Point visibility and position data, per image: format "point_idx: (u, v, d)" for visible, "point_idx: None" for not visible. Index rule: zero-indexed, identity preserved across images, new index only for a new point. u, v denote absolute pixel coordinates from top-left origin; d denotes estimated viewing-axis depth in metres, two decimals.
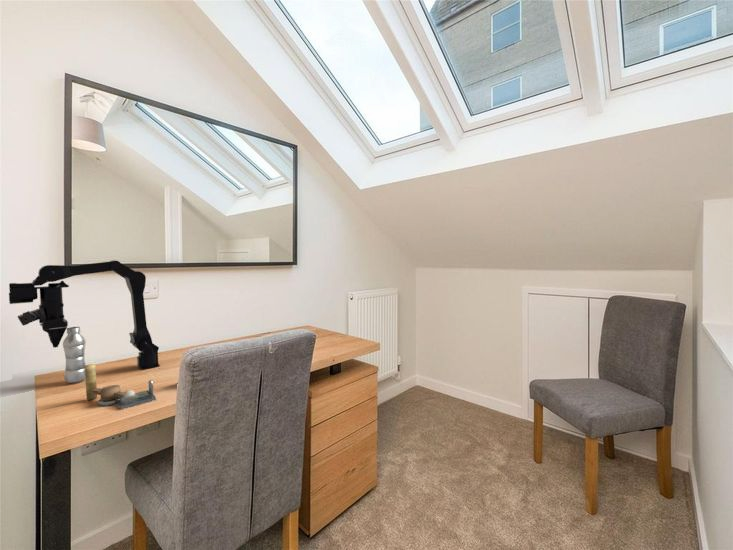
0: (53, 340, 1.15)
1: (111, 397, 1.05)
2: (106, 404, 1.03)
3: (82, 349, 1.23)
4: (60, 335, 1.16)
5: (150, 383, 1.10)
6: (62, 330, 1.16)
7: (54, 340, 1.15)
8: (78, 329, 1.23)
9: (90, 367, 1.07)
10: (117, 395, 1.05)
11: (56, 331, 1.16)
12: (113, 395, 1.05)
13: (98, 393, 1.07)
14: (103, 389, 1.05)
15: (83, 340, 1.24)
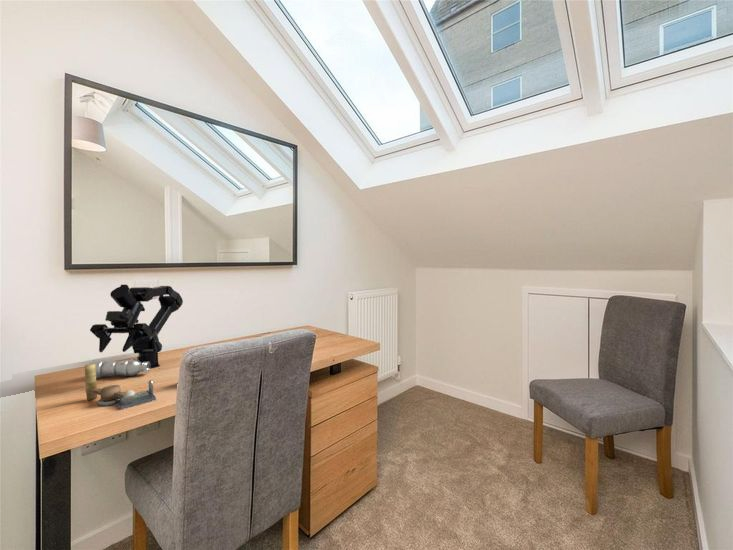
0: (128, 343, 1.20)
1: (111, 397, 1.05)
2: (106, 404, 1.03)
3: (121, 373, 1.27)
4: (133, 342, 1.23)
5: (150, 383, 1.10)
6: (137, 339, 1.24)
7: (128, 344, 1.21)
8: (144, 369, 1.29)
9: (90, 367, 1.07)
10: (117, 395, 1.05)
11: (133, 337, 1.23)
12: (113, 395, 1.05)
13: (98, 393, 1.07)
14: (103, 389, 1.05)
15: (131, 373, 1.28)
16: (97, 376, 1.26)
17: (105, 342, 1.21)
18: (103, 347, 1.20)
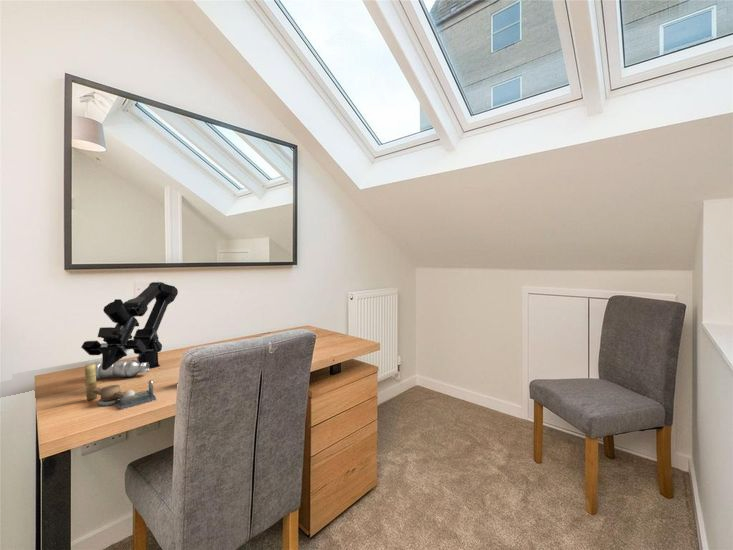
0: (109, 361, 1.16)
1: (111, 397, 1.05)
2: (106, 404, 1.03)
3: (121, 375, 1.27)
4: (116, 360, 1.18)
5: (150, 383, 1.10)
6: (120, 356, 1.20)
7: (110, 362, 1.16)
8: (143, 371, 1.29)
9: (90, 367, 1.07)
10: (117, 395, 1.05)
11: (115, 355, 1.18)
12: (113, 395, 1.05)
13: (98, 393, 1.07)
14: (103, 389, 1.05)
15: (130, 375, 1.27)
16: (97, 378, 1.26)
17: None
18: None
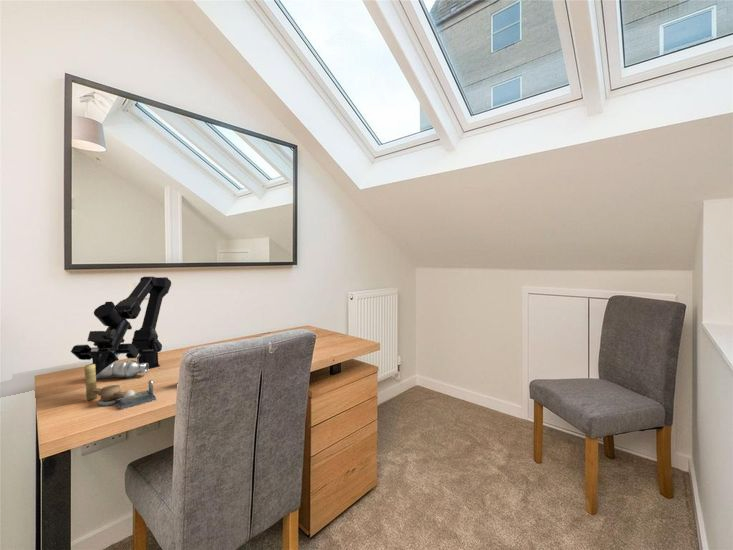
0: (100, 366, 1.11)
1: (111, 397, 1.05)
2: (106, 404, 1.03)
3: (120, 376, 1.27)
4: (106, 365, 1.14)
5: (150, 383, 1.10)
6: (111, 361, 1.15)
7: (100, 367, 1.11)
8: (143, 372, 1.29)
9: (90, 367, 1.07)
10: (117, 395, 1.05)
11: (106, 359, 1.14)
12: (113, 395, 1.05)
13: (98, 393, 1.07)
14: (103, 389, 1.05)
15: (130, 376, 1.27)
16: None
17: None
18: None
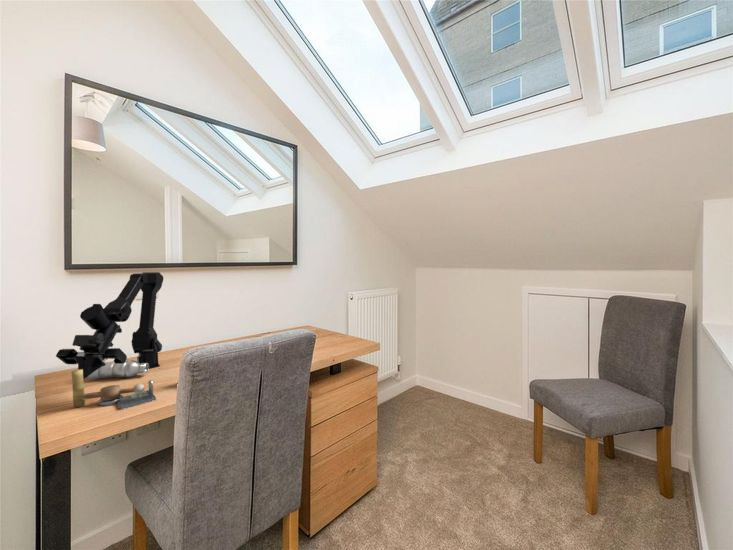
0: (85, 372, 1.06)
1: (117, 395, 1.06)
2: (106, 404, 1.03)
3: (120, 376, 1.27)
4: (92, 370, 1.08)
5: (150, 383, 1.10)
6: (98, 366, 1.10)
7: (86, 372, 1.06)
8: (143, 372, 1.29)
9: (80, 372, 1.03)
10: (124, 392, 1.07)
11: (92, 365, 1.08)
12: (118, 393, 1.06)
13: (94, 396, 1.04)
14: (105, 390, 1.05)
15: (130, 376, 1.27)
16: None
17: None
18: None
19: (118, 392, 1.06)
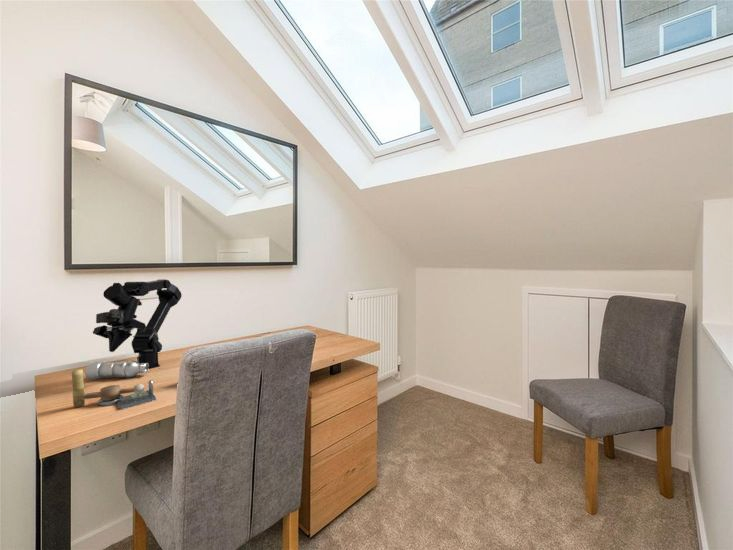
0: (114, 343, 1.20)
1: (117, 395, 1.06)
2: (106, 404, 1.03)
3: (120, 376, 1.27)
4: (122, 341, 1.22)
5: (150, 383, 1.10)
6: (126, 336, 1.23)
7: (115, 344, 1.20)
8: (143, 372, 1.29)
9: (80, 372, 1.03)
10: (124, 392, 1.07)
11: (120, 336, 1.22)
12: (118, 393, 1.06)
13: (94, 396, 1.04)
14: (105, 390, 1.05)
15: (130, 376, 1.27)
16: None
17: None
18: None
19: (118, 392, 1.06)
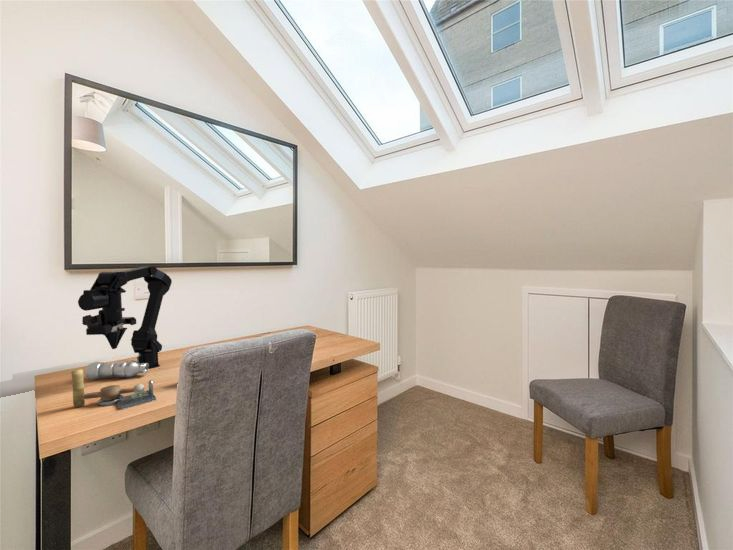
0: (110, 342, 1.23)
1: (117, 395, 1.06)
2: (106, 404, 1.03)
3: (120, 376, 1.27)
4: (114, 338, 1.22)
5: (150, 383, 1.10)
6: (115, 334, 1.22)
7: (111, 342, 1.23)
8: (143, 372, 1.29)
9: (80, 372, 1.03)
10: (124, 392, 1.07)
11: (112, 334, 1.22)
12: (118, 393, 1.06)
13: (94, 396, 1.04)
14: (105, 390, 1.05)
15: (130, 376, 1.27)
16: None
17: None
18: None
19: (118, 392, 1.06)
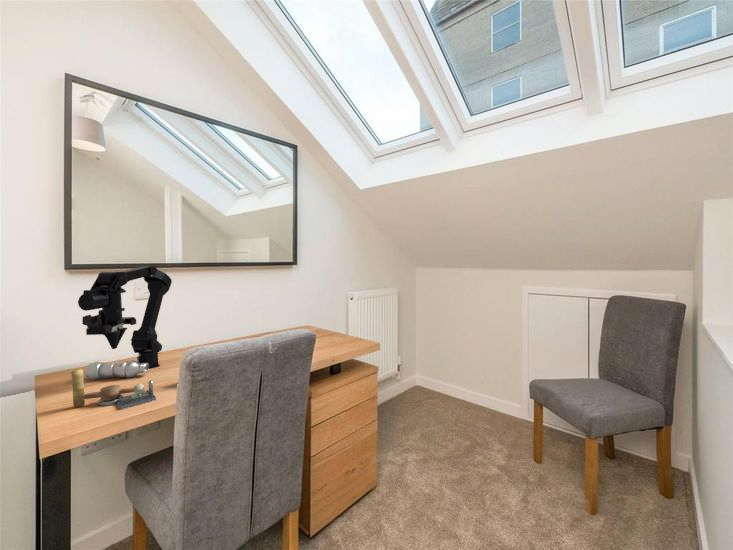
0: (110, 342, 1.23)
1: (117, 395, 1.06)
2: (106, 404, 1.03)
3: (120, 376, 1.27)
4: (114, 338, 1.22)
5: (150, 383, 1.10)
6: (115, 334, 1.22)
7: (111, 342, 1.23)
8: (143, 372, 1.29)
9: (80, 372, 1.03)
10: (124, 392, 1.07)
11: (112, 334, 1.22)
12: (118, 393, 1.06)
13: (94, 396, 1.04)
14: (105, 390, 1.05)
15: (130, 376, 1.27)
16: None
17: None
18: None
19: (118, 392, 1.06)
